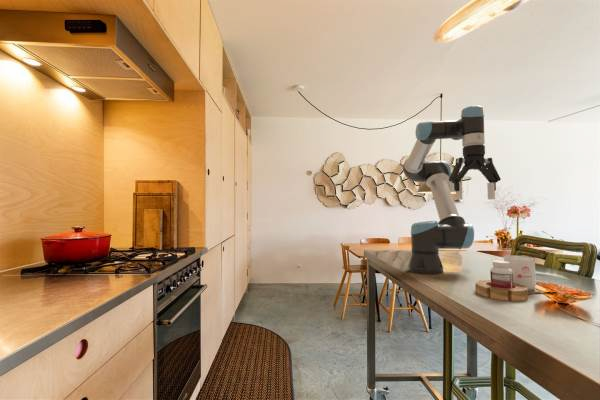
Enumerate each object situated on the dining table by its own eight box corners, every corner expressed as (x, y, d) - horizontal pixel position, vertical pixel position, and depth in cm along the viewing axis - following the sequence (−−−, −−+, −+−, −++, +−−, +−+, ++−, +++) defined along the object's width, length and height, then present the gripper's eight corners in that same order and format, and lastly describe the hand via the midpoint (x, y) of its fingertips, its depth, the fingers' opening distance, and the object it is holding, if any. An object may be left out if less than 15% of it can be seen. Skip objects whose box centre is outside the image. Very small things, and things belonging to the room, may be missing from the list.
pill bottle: (497, 291, 99) (496, 259, 99) (517, 295, 93) (516, 262, 94) (487, 293, 96) (485, 261, 97) (506, 298, 91) (505, 263, 91)
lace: (522, 293, 95) (522, 292, 95) (554, 292, 97) (554, 290, 97) (524, 294, 95) (524, 292, 95) (557, 292, 96) (556, 291, 96)
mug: (526, 285, 106) (525, 255, 106) (542, 292, 97) (540, 259, 97) (491, 284, 108) (489, 255, 108) (503, 290, 99) (502, 259, 99)
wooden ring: (467, 289, 101) (466, 280, 102) (502, 287, 103) (502, 279, 103) (498, 301, 87) (498, 291, 88) (539, 299, 89) (538, 290, 89)
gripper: (449, 143, 106) (451, 199, 106) (510, 144, 109) (512, 198, 108) (438, 147, 114) (439, 200, 113) (494, 148, 117) (497, 199, 116)
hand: (475, 199), depth 111 cm, fingers open, 13 cm apart
